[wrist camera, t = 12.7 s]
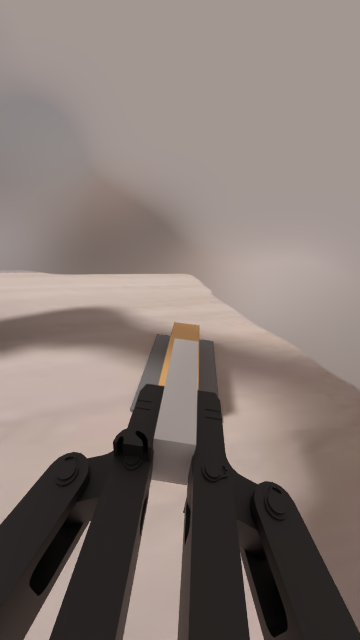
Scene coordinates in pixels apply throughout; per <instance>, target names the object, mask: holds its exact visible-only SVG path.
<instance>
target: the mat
mask: <svg viewBox="0 0 360 640" xmlns="http://www.w3.org/2000/svg"><path fill="white" fill-rule="evenodd" d="M170 337H171V336H168V335H159V334H157V337H156V340H155V342H154V345H153V348H152V351H151V353H150V356H149V359H148V362H147V364H146V367H145V370H144V373H143V375H142V378H141V381H140V384H139V386H138V389H137V392H136V395H135V397H134V400H133V403H132V406H131V408H130V411H133V410H134V408H135V404H136V401H137V398H138V395H139V392H140V390H141V389H142V388H143V387H144V386H145V385H146V384H153V385H158V384H159V380H160V376H161V372H162V368H163V364H164V360H165V356H166V352H167V348H168V345H169V341H170ZM198 390H200V391H207V392H214V393H216V395H217V397H218V391H217V380H216V369H215V359H214V348H213V341H208V340H200V339H199V383H198Z"/></svg>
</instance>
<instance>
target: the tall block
mask: <svg viewBox="0 0 360 640" xmlns="http://www.w3.org/2000/svg"><path fill="white" fill-rule="evenodd" d="M199 326H200V325H192V324H184V323H176V322H174V325H173V329H172V333H171V337H170V341H169V345H168V348H167V352H166V356H165V360H164V364H163V368H162V372H161V376H160V380H159V384H158V385H160V386H165V382H166V377H167V373H168V368H169V363H170V358H171V354H172V349H173V344H174V339H175V338H176V339H183V340H191V341H198V383H199ZM197 390H198V385H197Z"/></svg>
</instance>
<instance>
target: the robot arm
mask: <svg viewBox="0 0 360 640" xmlns="http://www.w3.org/2000/svg"><path fill="white" fill-rule="evenodd" d="M197 385H198V341H191V340H183V339H176V338H175V339H174V344H173V349H172V354H171V358H170V363H169V368H168V373H167V377H166V382H165V386H160V385H153V384H146V385H145V386H144V387H143V388H142V389H141V390H140V392H139V395H138V398H137V401H136V404H135V408H134V410H133V413H132V416H131V419H130V422H129V425H128V428H127V429H124V430H123V431H121V432H120V433H119V434H118V435H117V436H116V438H115V439H114V441H113V448H114V451H112V452H110V453H108V454H105V455H102V456H97V457H92V458H86V457H85V456H84V455H83V454H82V453H77V452H72V453H67V454H65V455H63V456H61V457H59V458H58V459H57V460H56V461H54V462H53V463H52V464H51V465H50V467H49V468H48V469H47V470H46V471H45V472H44V474H43V475H42V476H41V477H40V478H39V480H38V481H37V482H36V483H35V484H34V486H33V487H32V488H31V489H30V490H29V491H28V493H27V494H26V495H25V496H24V497H23V499H22V500H21V501H20V502H19V503H18V505H17V506H16V507H15V508H14V509H13V510H12V512H11V513H10V514H9V515H8V516H7V518H6V519H5V520H4V521H3V522H2V524H1V525H0V640H23V639H24V638H25V636H26V634H27V632H28V630H29V629H30V627H31V625H32V623H33V621H34V620H35V618H36V616H37V614H38V613H39V611H40V609H41V607H42V605H43V604H44V602H45V600H46V598H47V596H48V595H49V593H50V591H51V589H52V587H53V586H54V584H55V582H56V580H57V579H58V577H59V575H60V573H61V571H62V570H63V568H64V566H65V564H66V562H67V561H68V559H69V557H70V555H71V553H72V552H73V550H74V548H75V546H76V544H77V543H78V541H79V539H80V537H81V536H82V534H83V532H84V530H85V528H86V527H87V525H88V523H89V521H91V523H90V526H89V529H88V531H87V534H86V537H85V540H84V543H83V546H82V548H81V551H80V554H79V557H78V560H77V562H76V565H75V568H74V571H73V574H72V577H71V579H70V582H69V585H68V588H67V591H66V594H65V596H64V599H63V602H62V605H61V608H60V611H59V613H58V616H57V619H56V622H55V625H54V628H53V630H52V633H51V636H50V639H49V640H123V634H124V629H125V623H126V618H127V612H128V607H129V601H130V596H131V590H132V585H133V579H134V574H135V569H136V563H137V558H138V552H139V547H140V541H141V536H142V530H143V525H144V519H145V514H146V508H147V503H148V496H149V488H150V482H151V480H157V481H164V482H170V483H176V484H183V485H187V483H188V486H187V498H186V502H185V507H184V511H183V513H185V518H184V536H183V553H182V571H181V589H180V606H179V624H178V640H250V637H249V628H248V619H247V610H246V601H245V592H244V583H243V574H242V565H241V557H242V561H243V564H244V568H245V572H246V575H247V579H248V583H249V586H250V590H251V593H252V597H253V601H254V604H255V608H256V612H257V615H258V619H259V623H260V626H261V630H262V633H263V637H264V640H360V633H359V631H358V629H357V627H356V625H355V623H354V621H353V619H352V617H351V615H350V613H349V611H348V609H347V607H346V605H345V603H344V601H343V599H342V597H341V595H340V593H339V591H338V589H337V587H336V585H335V583H334V581H333V579H332V577H331V575H330V573H329V571H328V569H327V567H326V565H325V563H324V561H323V559H322V557H321V555H320V553H319V551H318V549H317V547H316V545H315V543H314V541H313V539H312V537H311V535H310V533H309V531H308V529H307V527H306V525H305V523H304V521H303V519H302V517H301V515H300V513H299V511H298V509H297V507H296V505H295V503H294V501H293V500H292V498H291V497H290V495H289V494H288V493H287V492H286V491H285V490H284V489H283V488H282V487H281V486H279V485H277V484H275V483H273V482H267V481H265V482H262V483H260V484H259V485H258V484H256V483H254V482H252V481H250V480H248V479H246V478H245V477H243V476H241V475H240V474H238V473H237V472H236V471H235V470H234V469H233V468H232V467H231V465H230V464H229V462H228V460H227V458H226V453H225V445H224V435H223V425H222V415H221V405H220V400H219V399H218V397H217V395H216V393H214V392H207V391H200V390H197ZM240 553H241V556H240Z"/></svg>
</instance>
